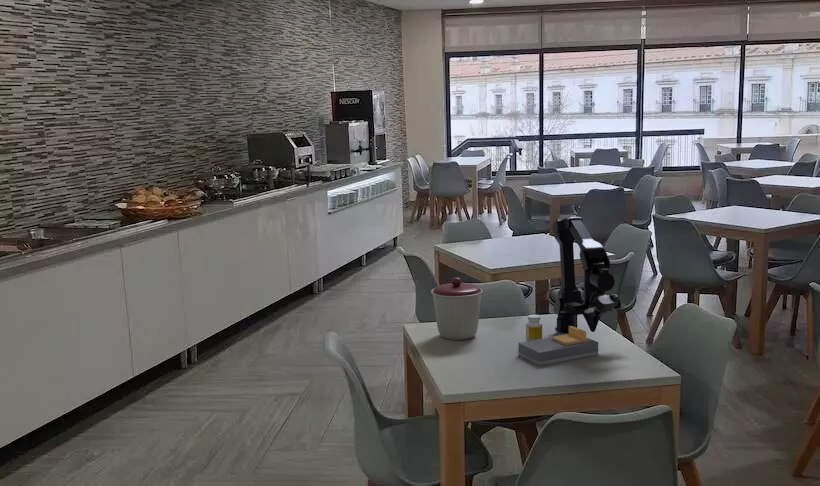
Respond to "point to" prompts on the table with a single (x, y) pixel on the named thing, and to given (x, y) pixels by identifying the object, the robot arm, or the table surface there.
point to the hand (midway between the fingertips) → (592, 331)
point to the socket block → (556, 350)
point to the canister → (457, 309)
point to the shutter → (571, 336)
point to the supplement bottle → (533, 328)
